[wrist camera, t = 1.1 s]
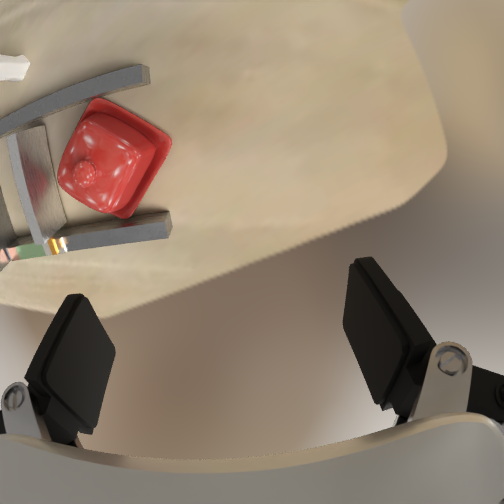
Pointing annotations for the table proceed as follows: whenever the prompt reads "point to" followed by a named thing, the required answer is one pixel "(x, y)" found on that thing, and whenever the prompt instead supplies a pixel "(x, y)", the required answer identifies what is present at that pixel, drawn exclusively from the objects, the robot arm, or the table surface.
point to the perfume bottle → (13, 67)
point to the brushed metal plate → (36, 184)
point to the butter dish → (112, 159)
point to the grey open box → (89, 235)
